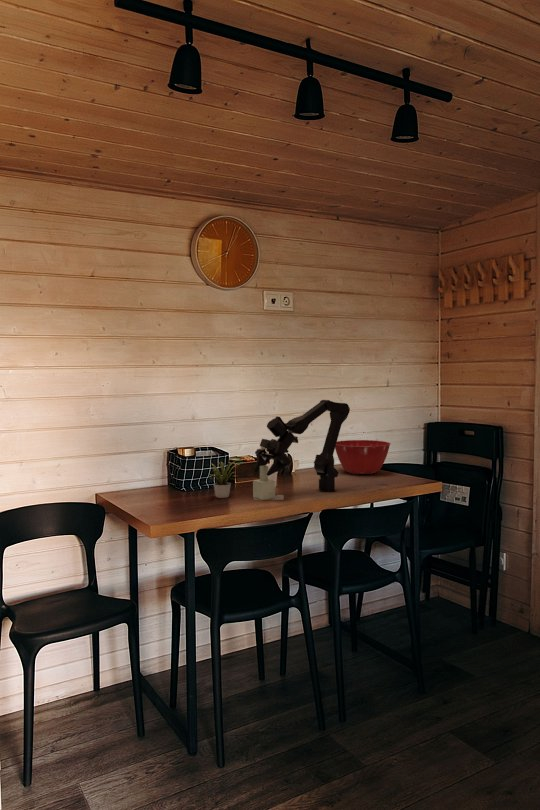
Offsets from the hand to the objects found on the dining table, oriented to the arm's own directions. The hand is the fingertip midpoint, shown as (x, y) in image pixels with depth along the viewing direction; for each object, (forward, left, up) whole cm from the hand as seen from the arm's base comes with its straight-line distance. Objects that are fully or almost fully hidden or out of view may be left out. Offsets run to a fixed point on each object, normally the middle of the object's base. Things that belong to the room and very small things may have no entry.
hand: (260, 473), depth 258 cm
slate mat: (-3, -1, -11) cm, 12 cm away
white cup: (-2, -28, -11) cm, 30 cm away
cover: (-1, -1, -10) cm, 10 cm away
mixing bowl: (-48, -65, -11) cm, 81 cm away
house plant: (+15, -4, -11) cm, 19 cm away
